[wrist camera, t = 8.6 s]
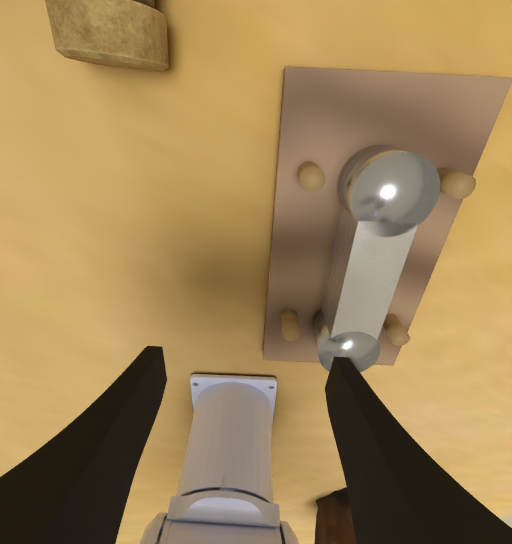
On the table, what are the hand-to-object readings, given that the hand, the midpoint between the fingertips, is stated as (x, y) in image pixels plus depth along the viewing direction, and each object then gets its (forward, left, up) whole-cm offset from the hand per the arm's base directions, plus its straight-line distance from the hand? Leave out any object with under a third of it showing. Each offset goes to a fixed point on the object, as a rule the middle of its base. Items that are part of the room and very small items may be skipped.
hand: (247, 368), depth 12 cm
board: (+1, -7, -9) cm, 12 cm away
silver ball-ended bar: (+1, -7, -8) cm, 11 cm away
